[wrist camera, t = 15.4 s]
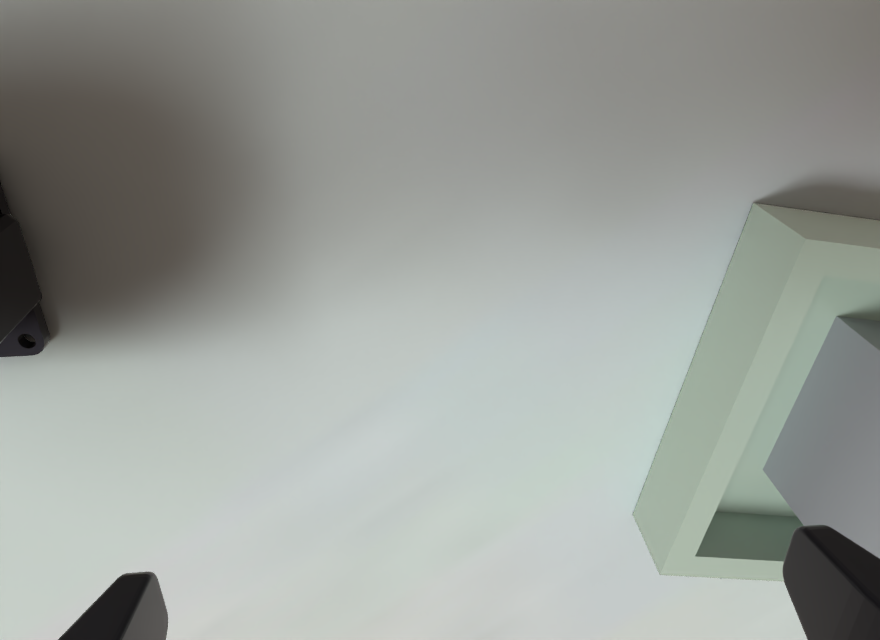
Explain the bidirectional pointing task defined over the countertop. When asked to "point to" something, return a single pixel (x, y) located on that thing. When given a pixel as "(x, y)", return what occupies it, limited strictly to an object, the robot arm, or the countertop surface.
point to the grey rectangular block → (836, 437)
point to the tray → (752, 392)
